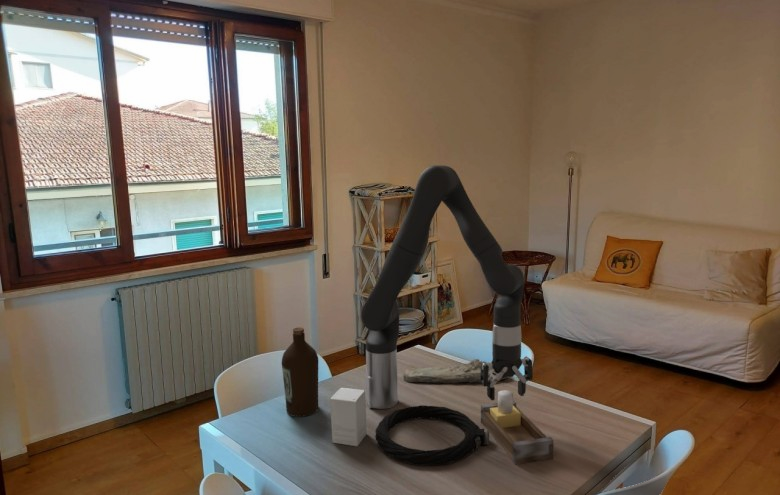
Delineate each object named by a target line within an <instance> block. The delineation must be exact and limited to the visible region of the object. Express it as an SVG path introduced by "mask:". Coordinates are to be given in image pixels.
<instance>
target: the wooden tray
mask: <svg viewBox="0 0 780 495" xmlns="http://www.w3.org/2000/svg"><path fill="white" fill-rule="evenodd" d="M513 406H514V407H515V408H516V409H517V410H518V411H519V412H520V413H521V425H519V426H512V427H505V428H502V427H501V426H500V425H499V424H498V422H497V421H496V420H495V419H494V418H493V417H492V416H491V414H490V408H495V407H498V402H495V403H486V404H481V405H480V422H481V424H482V426H483V427H484V429H486V431H487V430H488V432H489V435H491V436H492V437H493V439H494V440H495V441H496V442H497V444H498V445H499V447H501V448H502V450H503V451H504V452H505V453H506V455H507V456H508V457H509V459H510V460H511V461H512V462H513V463H514V465H520V464H521V465H522V464H528V463H534V462H541V461H546V460H553V459H554V445H555V444H554V442H555V440H554V439H553V437H551V436H548V437H547V436H546V434H545V433H543V432H542V431H541V429H539V428H538V427H537V426H536V424H534V423H533V421H531V419H530V418H529V417H527V415H525V414H524V413H523V412H522V410H520V409H519V407H517V402H516V401H515V400H513Z"/></svg>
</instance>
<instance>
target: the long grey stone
mask: <svg viewBox="0 0 780 495" xmlns="http://www.w3.org/2000/svg"><path fill="white" fill-rule="evenodd" d="M482 362H483V361H482V360H481V361H480V359H478V358H477V359H472V360H470V362H468V363H462V364H459V365H457V366H434V367H433V366H430V367H413V366H412V367H410V368H407V369H405V370H404V371H403V375H402V377H403V378H402V379H403V380H404V381H405V382H407V383H412V382H413V383H427V384H428V383H432V384H438V383H439V384H440V383H442V384H457V383H458V384H459V383H471V384H472V383H481V382H480V372H481V363H482ZM484 362H485V363H488V362H487V361H484ZM492 371H493V368H491V369H490V371H489V372H488V378H489V377H490V374H491V372H492ZM496 375H497V374H496ZM505 379H508V377H506V378H502V377H501V379H500V380H499V381H501V380H505Z"/></svg>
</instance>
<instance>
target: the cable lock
mask: <svg viewBox="0 0 780 495" xmlns="http://www.w3.org/2000/svg"><path fill="white" fill-rule="evenodd" d="M416 419H436V420H437V419H438V420H442V421H445V422H448V423H449V422H451V423H452V424H454V425H455V426H458V427H459V428H461V429H462V430H463V431H464V434H465V435H464V436H465V437H464V438H463V439H462V440H461V441H460V442H459V443H457V444H455V445H453V446H449V447H446V448H441V449H431V450H423V449H422V450H421V449H416V448H411V447H410V448H409V447H406V446H403V445H401V444H399V443H397V442H396V441H394V440H393V439H392V438H391V437H390V431H391V430H392V429H393V428H394V427H396V426H397V425H399V424H401V423H403V422H406V421H410V420H416ZM374 431H375V432H374V433H375V435H374V438H375V441H376V444H377V446H378V447H379V448H380V449H381V450H382V451H383V452H384V454H386V455H388V456H389V457H390V456H391V457H392V458H393V460H394V459H395V460H397V461H399V462H402V463H403V462H404V463H407V464H411V465H414V466H421V465H422V466H440V465H446V464H449V463H453V462H457V461H461V460H463V459H464V458H465V457H467V456H468V455H470V454H472V453H473V452H474V451H476V450H478V448H480V447H482V448H483V447H485V445H486V446H488V445H489V443H490V433H489V431H488V430H487V429H486V430H485V428H480V426H479V425H478V424H476V423H475V421H473V420H472V419H471V418H469V416H467V415H466V414H465V413H463V412H460V411H459V410H455V409H452V408H449V407H446V406H436V405H435V406H434V405H417V406H416V405H415V406H413V405H412V406H406V407H404V408H401V409H396V410H394V411H393V412H391V413H388V414H387V415H385V416H384V417H383V418H382V419H381V420H380V421H379V423H378V425H377V427H376V428H375V430H374Z"/></svg>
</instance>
